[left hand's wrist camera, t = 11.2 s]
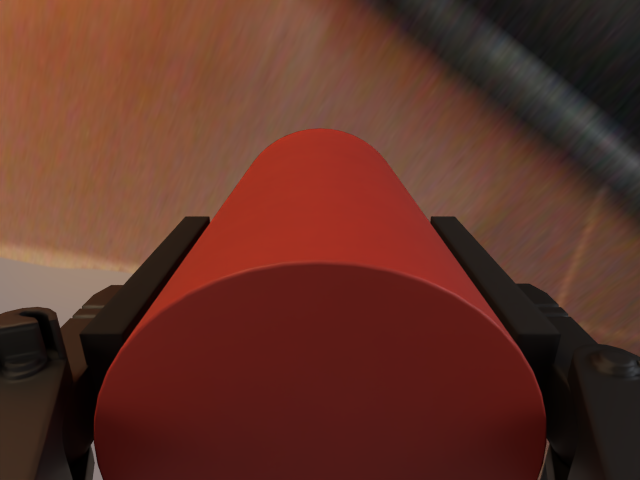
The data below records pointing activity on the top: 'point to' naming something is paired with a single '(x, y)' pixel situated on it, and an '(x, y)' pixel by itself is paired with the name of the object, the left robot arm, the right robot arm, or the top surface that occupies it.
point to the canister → (320, 342)
